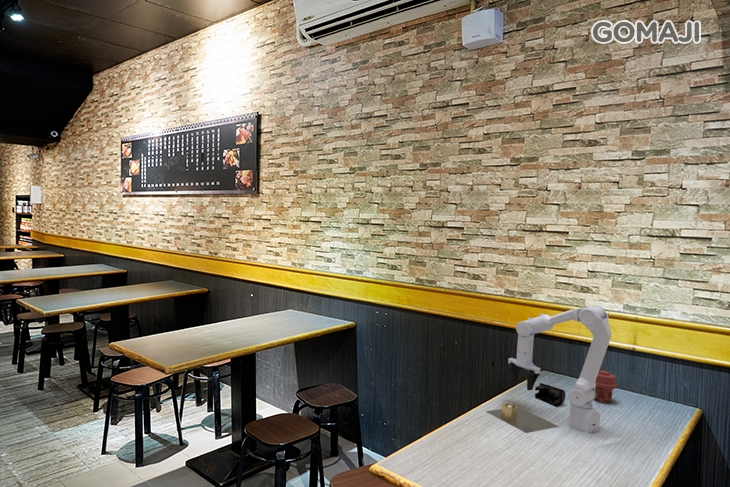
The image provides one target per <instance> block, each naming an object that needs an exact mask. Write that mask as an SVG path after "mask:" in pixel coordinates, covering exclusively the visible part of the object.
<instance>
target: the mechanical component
mask: <svg viewBox="0 0 730 487" xmlns="http://www.w3.org/2000/svg"><path fill="white" fill-rule="evenodd" d="M595 383H596V387H595V393H596V396H595V398H594V399H596V400H598V403H601V404H603V403H611V402H612V399H613V390H615V389H616V388H618V383H617V382H616V375H614V374H613V373H610V372H609V371H606V370H599V372H598V375H597V378H596V381H595Z"/></svg>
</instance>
